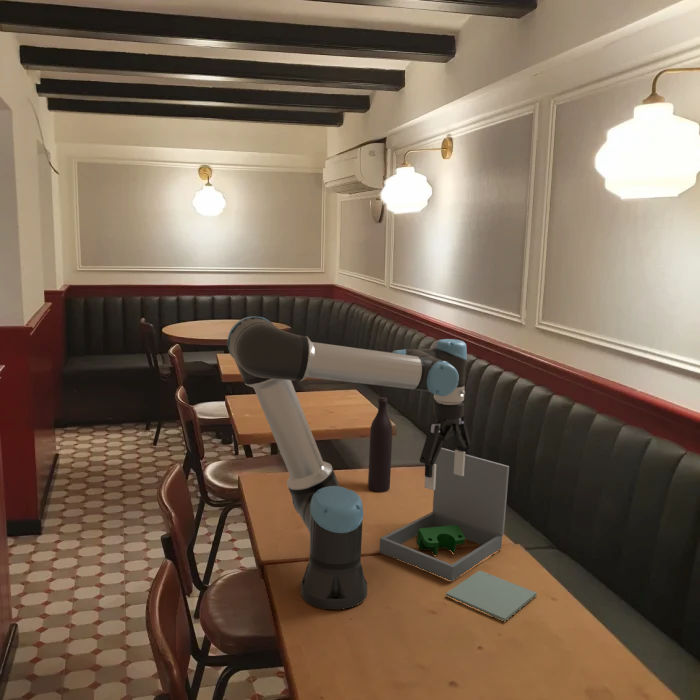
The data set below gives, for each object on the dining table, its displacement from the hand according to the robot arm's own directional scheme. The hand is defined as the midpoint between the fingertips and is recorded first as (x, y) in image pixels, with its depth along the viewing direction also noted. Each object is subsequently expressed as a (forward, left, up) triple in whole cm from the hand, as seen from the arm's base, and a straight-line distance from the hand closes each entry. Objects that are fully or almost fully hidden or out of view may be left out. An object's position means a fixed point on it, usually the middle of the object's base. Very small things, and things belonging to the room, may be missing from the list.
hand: (444, 481), depth 176 cm
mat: (-11, -21, -19) cm, 31 cm away
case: (0, 0, -19) cm, 19 cm away
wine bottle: (+23, +39, -19) cm, 49 cm away
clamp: (0, 0, -19) cm, 19 cm away
